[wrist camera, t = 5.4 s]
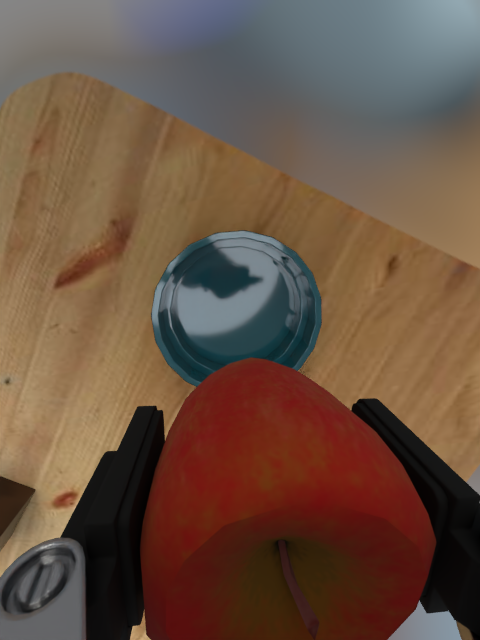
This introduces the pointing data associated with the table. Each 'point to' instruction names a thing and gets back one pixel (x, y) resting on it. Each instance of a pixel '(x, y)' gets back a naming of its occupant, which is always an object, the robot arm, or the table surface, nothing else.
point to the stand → (12, 507)
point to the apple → (279, 517)
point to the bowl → (235, 305)
